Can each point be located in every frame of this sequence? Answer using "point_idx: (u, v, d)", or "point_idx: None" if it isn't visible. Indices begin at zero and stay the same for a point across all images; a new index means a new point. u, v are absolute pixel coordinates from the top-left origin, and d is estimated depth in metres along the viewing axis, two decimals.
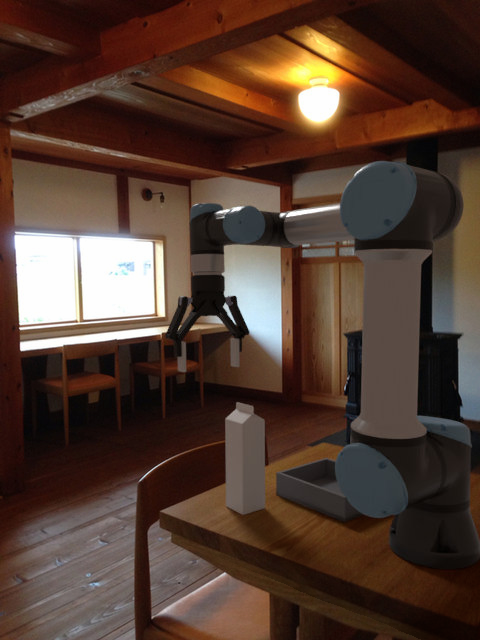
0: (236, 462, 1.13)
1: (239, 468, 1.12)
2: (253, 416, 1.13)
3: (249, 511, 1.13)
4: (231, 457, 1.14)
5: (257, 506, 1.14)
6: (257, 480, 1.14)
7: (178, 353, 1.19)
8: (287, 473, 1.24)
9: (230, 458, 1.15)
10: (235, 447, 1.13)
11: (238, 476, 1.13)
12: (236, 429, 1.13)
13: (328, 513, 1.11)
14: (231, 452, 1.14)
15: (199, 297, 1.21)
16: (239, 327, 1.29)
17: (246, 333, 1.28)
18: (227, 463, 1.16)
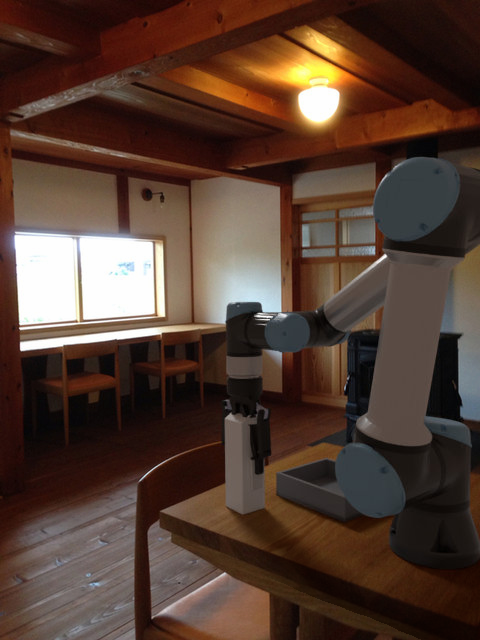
0: (236, 462, 1.13)
1: (239, 468, 1.13)
2: None
3: (249, 511, 1.13)
4: (231, 457, 1.14)
5: (257, 506, 1.14)
6: None
7: None
8: (287, 473, 1.24)
9: (229, 458, 1.15)
10: (234, 446, 1.13)
11: (237, 475, 1.13)
12: (236, 429, 1.13)
13: (328, 513, 1.11)
14: (231, 452, 1.14)
15: (231, 398, 1.17)
16: None
17: (259, 455, 1.11)
18: (227, 463, 1.16)
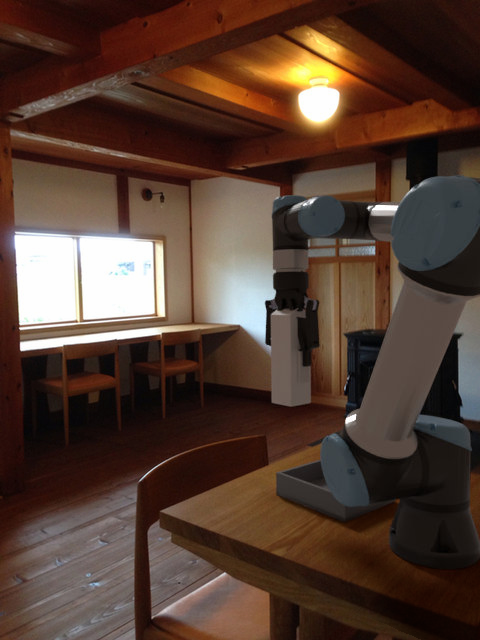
0: (283, 355, 1.14)
1: (286, 360, 1.13)
2: None
3: (297, 403, 1.14)
4: (278, 352, 1.15)
5: (304, 400, 1.15)
6: None
7: None
8: (287, 473, 1.24)
9: (276, 353, 1.16)
10: (282, 340, 1.14)
11: (285, 368, 1.14)
12: (284, 322, 1.14)
13: (328, 513, 1.11)
14: (278, 347, 1.15)
15: (277, 295, 1.18)
16: None
17: (308, 346, 1.12)
18: (273, 358, 1.17)
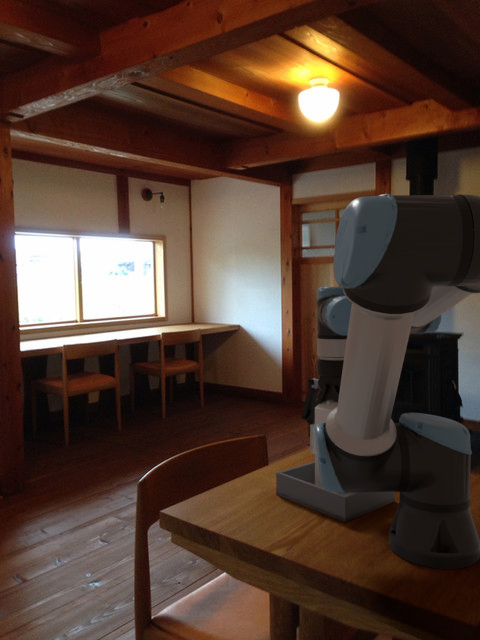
0: None
1: None
2: None
3: None
4: None
5: None
6: None
7: (309, 434, 1.25)
8: (287, 473, 1.24)
9: None
10: None
11: None
12: None
13: (328, 513, 1.11)
14: None
15: (321, 379, 1.21)
16: None
17: None
18: None
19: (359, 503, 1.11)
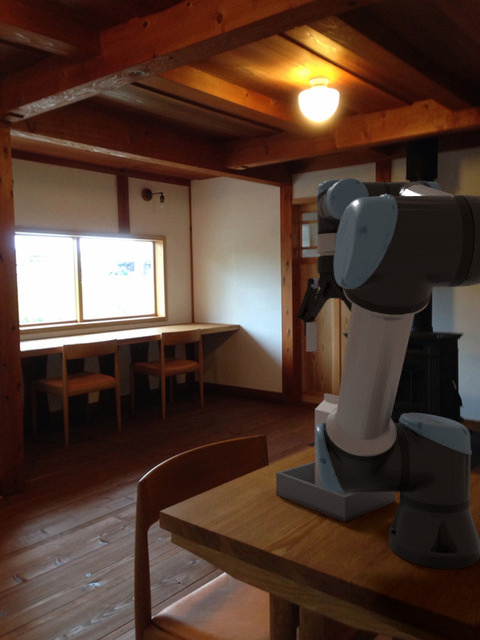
0: None
1: None
2: None
3: None
4: None
5: (347, 493, 1.19)
6: None
7: (305, 333, 1.25)
8: (287, 473, 1.24)
9: None
10: None
11: None
12: None
13: (328, 513, 1.11)
14: None
15: (321, 279, 1.20)
16: None
17: None
18: None
19: (359, 503, 1.11)
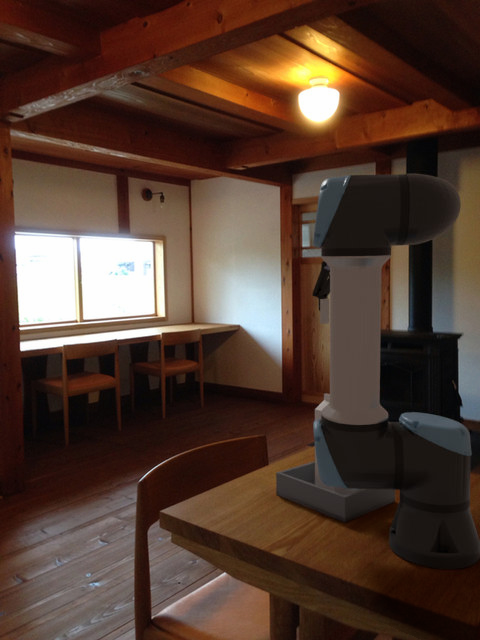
0: None
1: None
2: None
3: None
4: None
5: (347, 493, 1.19)
6: None
7: (319, 308, 1.47)
8: (287, 473, 1.24)
9: None
10: None
11: None
12: None
13: (328, 513, 1.11)
14: None
15: None
16: None
17: None
18: None
19: (359, 503, 1.11)
